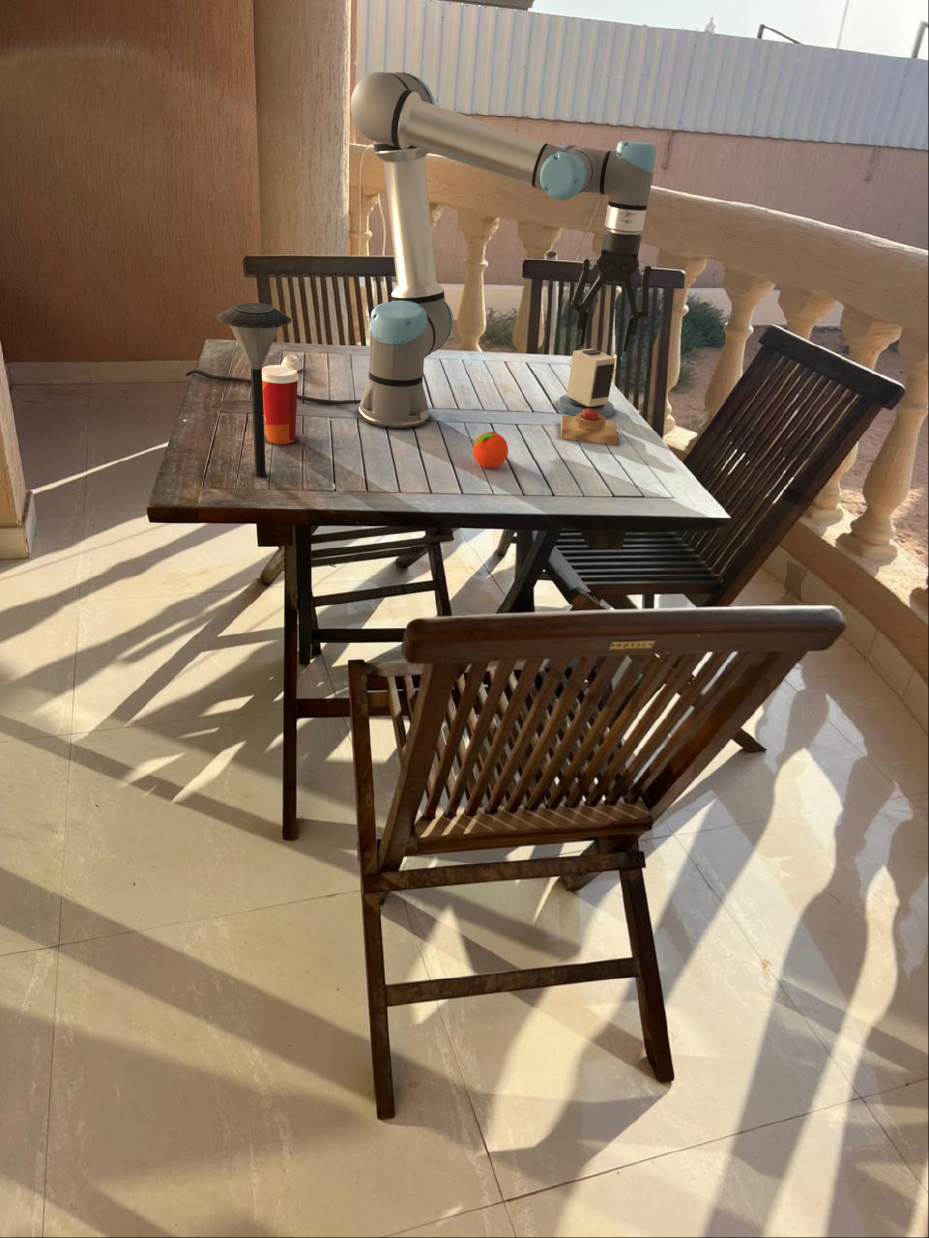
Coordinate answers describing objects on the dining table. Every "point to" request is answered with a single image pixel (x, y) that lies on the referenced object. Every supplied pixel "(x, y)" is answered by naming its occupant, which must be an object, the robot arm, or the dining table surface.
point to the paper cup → (280, 402)
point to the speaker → (590, 378)
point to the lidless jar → (292, 362)
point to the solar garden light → (255, 357)
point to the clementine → (490, 450)
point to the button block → (588, 429)
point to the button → (591, 414)
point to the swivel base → (574, 409)
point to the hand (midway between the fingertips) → (602, 347)
